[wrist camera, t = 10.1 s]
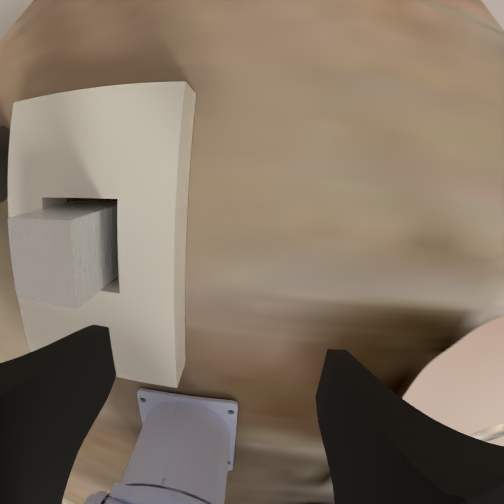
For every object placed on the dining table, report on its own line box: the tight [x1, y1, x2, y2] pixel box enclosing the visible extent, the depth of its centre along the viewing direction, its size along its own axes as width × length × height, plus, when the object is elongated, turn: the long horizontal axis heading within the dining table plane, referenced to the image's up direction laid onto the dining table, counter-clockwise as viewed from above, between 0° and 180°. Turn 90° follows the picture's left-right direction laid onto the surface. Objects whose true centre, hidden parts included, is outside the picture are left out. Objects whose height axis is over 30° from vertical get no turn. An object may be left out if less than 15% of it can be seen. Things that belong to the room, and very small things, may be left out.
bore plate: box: [8, 81, 196, 388], centre depth 18 cm, size 18×12×3 cm, turn 175°
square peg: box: [7, 201, 119, 309], centre depth 16 cm, size 4×4×7 cm
